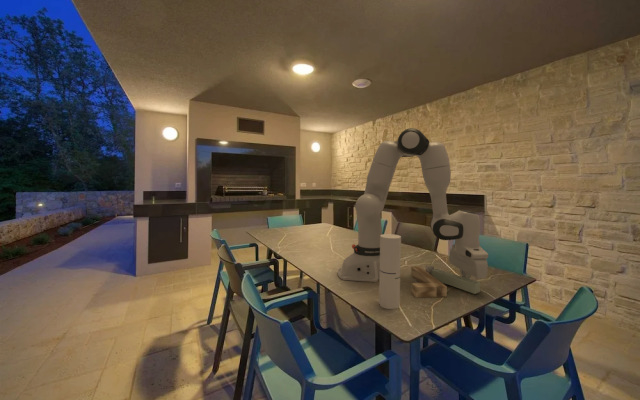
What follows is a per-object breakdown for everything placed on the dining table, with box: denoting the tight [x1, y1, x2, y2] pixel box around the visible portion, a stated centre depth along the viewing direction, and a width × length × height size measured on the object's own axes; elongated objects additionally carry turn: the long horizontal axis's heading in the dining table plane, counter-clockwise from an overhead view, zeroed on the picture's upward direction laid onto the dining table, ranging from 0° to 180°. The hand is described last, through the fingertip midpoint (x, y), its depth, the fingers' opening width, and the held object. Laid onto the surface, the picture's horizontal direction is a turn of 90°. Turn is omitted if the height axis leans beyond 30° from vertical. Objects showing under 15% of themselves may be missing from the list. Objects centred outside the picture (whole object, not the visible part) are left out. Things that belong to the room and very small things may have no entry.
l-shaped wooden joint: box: [410, 265, 448, 298], centre depth 109 cm, size 13×24×4 cm, turn 3°
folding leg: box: [425, 264, 481, 295], centre depth 110 cm, size 23×4×5 cm, turn 32°
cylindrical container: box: [378, 233, 402, 310], centre depth 91 cm, size 7×7×25 cm
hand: (465, 281), depth 107 cm, fingers closed
